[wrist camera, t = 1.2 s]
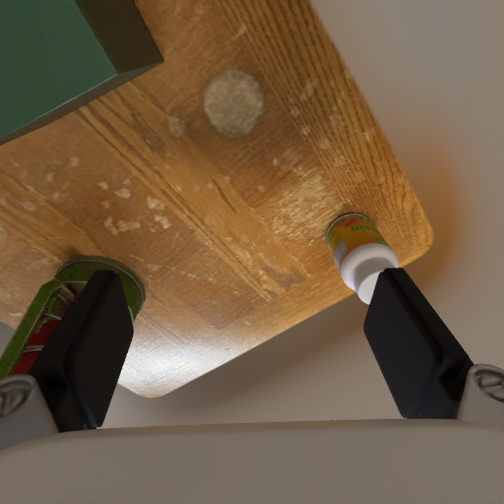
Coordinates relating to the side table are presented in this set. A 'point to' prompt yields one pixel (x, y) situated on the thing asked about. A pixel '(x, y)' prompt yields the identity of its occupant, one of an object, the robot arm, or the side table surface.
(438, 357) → the robot arm
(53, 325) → the lantern
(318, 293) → the side table surface
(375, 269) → the supplement bottle
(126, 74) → the bin
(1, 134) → the bin lid
